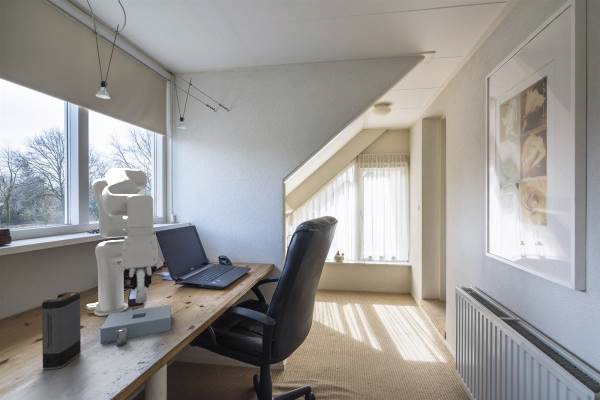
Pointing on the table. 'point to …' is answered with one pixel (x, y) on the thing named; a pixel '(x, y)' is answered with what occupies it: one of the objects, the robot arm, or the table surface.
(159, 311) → the bore block
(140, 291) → the long pin
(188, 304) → the table surface
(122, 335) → the short pin
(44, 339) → the electronic device
